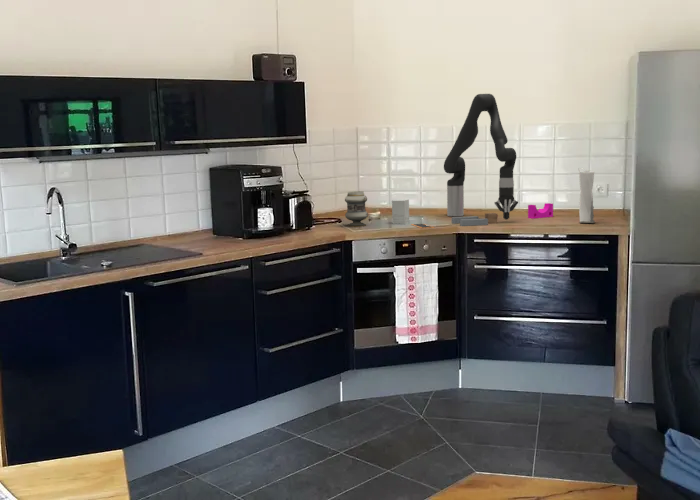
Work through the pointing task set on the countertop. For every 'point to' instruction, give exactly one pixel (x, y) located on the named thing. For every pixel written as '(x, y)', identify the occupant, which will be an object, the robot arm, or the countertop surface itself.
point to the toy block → (540, 211)
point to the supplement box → (400, 211)
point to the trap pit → (422, 226)
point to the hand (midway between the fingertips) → (506, 219)
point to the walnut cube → (491, 217)
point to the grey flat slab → (469, 221)
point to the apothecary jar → (356, 208)
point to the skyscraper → (586, 196)
